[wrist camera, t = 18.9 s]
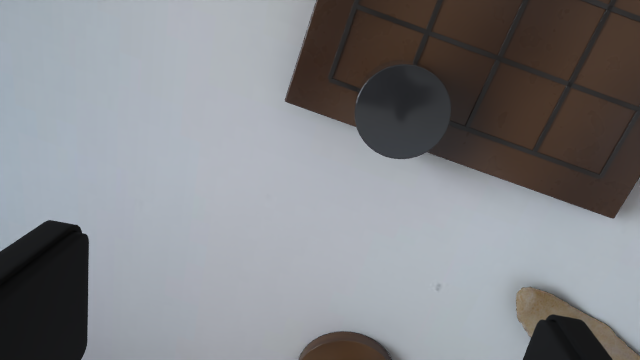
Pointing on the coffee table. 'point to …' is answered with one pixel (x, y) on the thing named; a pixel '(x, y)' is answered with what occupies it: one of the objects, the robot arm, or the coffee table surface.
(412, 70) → the dark gray cylinder
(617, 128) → the board
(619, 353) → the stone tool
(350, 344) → the wooden peg stand
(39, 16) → the coffee table surface
